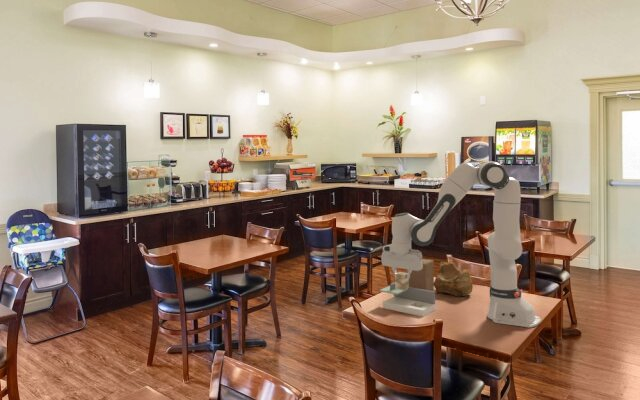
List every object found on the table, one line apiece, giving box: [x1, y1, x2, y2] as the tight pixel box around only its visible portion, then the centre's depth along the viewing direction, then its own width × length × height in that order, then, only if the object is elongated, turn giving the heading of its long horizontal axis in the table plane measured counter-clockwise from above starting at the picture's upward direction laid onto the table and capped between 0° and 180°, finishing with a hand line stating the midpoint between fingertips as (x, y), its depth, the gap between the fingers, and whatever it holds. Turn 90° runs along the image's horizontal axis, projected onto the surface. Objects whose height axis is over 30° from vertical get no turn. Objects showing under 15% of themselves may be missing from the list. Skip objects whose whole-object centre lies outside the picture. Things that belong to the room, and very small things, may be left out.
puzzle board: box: [382, 287, 436, 318], centre depth 239 cm, size 22×12×9 cm, turn 50°
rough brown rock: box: [434, 261, 474, 297], centre depth 264 cm, size 23×17×15 cm
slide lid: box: [379, 281, 408, 295], centre depth 243 cm, size 10×10×4 cm
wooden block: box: [409, 258, 435, 292], centre depth 254 cm, size 10×10×20 cm
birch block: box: [394, 271, 409, 290], centre depth 228 cm, size 4×4×7 cm
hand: (401, 277), depth 228 cm, fingers closed on birch block, 4 cm apart
